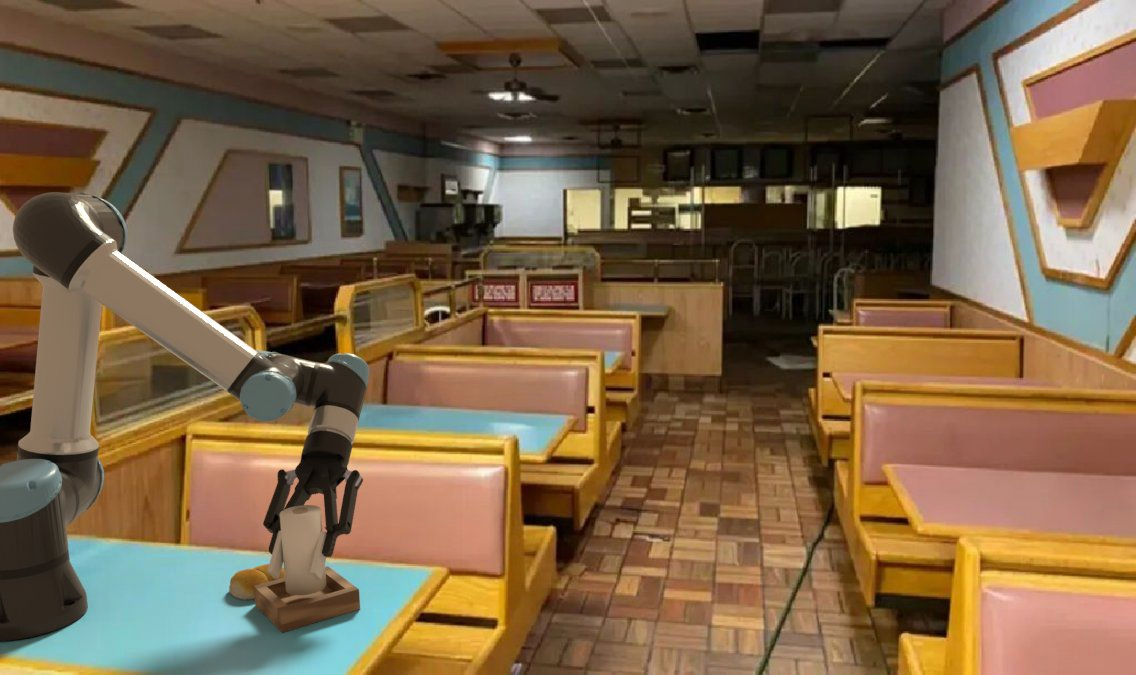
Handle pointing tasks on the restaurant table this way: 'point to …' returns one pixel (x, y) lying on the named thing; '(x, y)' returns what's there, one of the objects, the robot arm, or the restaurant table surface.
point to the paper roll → (301, 548)
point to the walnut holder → (306, 602)
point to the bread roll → (250, 581)
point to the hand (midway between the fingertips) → (294, 575)
